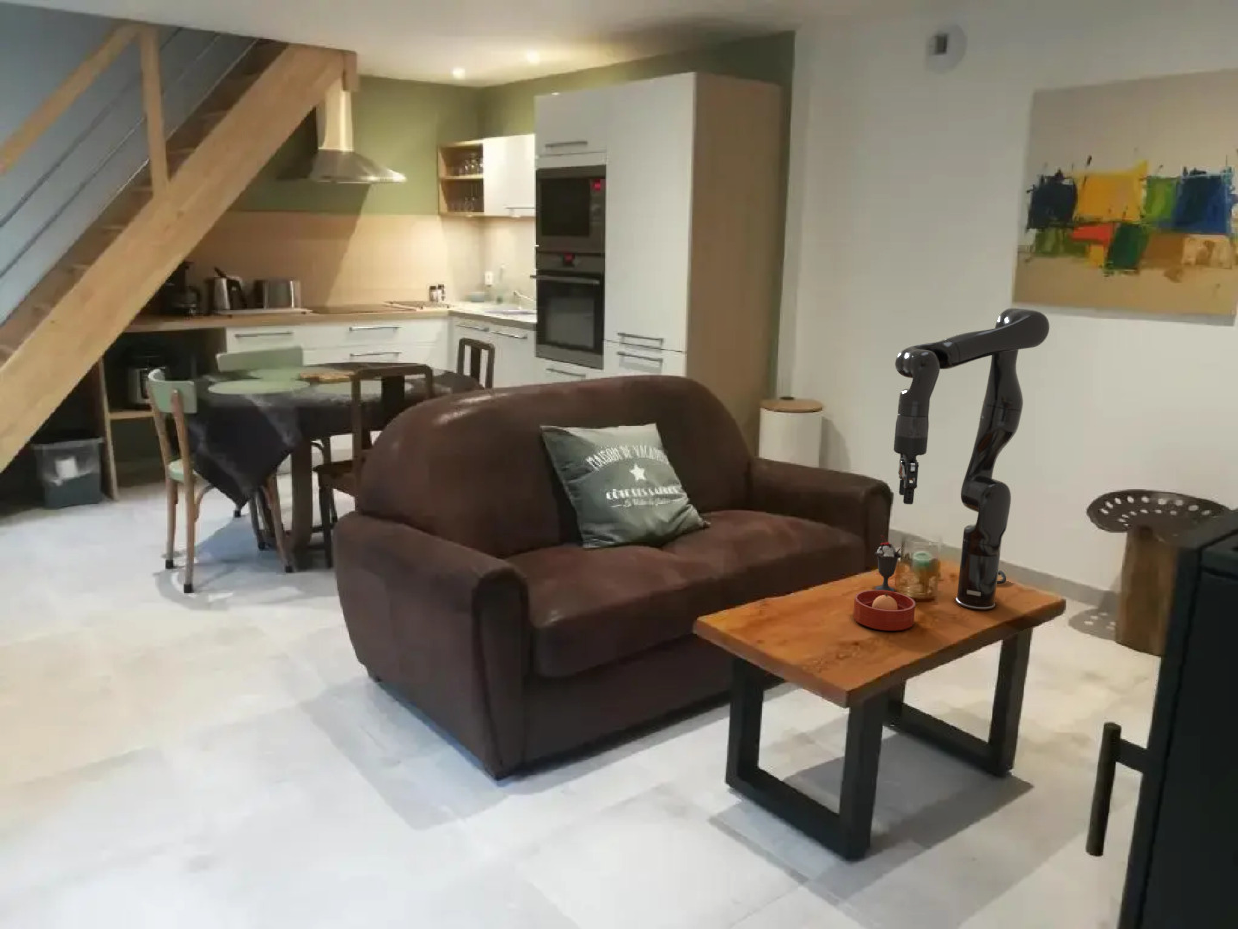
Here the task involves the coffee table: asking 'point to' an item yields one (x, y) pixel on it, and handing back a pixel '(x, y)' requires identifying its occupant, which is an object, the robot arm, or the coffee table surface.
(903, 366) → the robot arm
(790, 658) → the coffee table surface
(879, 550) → the sundae
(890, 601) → the peach
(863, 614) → the bowl
